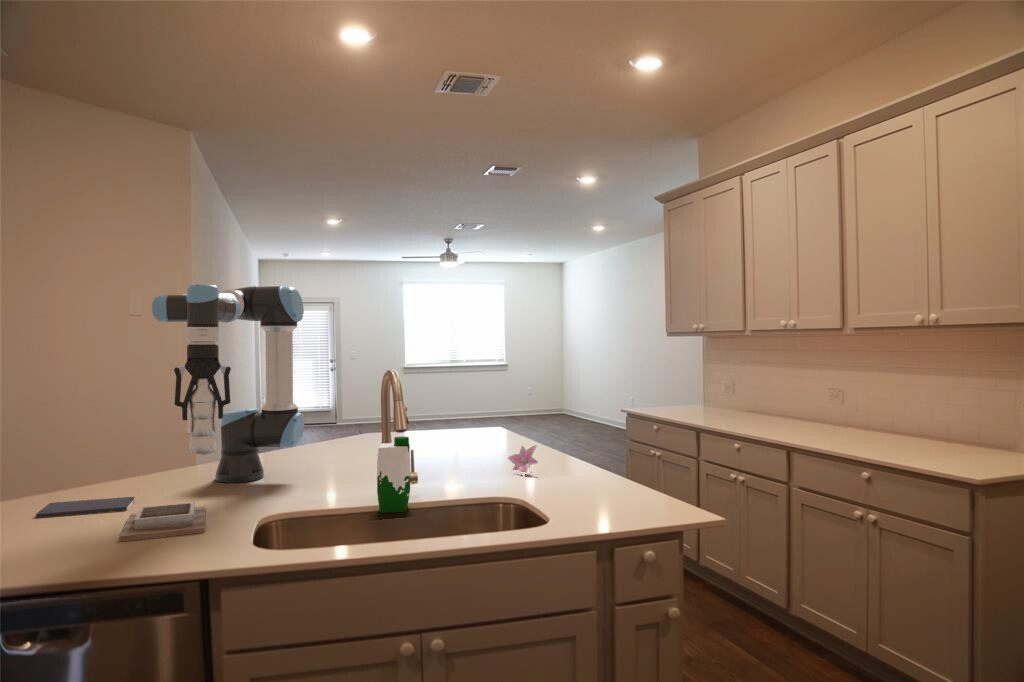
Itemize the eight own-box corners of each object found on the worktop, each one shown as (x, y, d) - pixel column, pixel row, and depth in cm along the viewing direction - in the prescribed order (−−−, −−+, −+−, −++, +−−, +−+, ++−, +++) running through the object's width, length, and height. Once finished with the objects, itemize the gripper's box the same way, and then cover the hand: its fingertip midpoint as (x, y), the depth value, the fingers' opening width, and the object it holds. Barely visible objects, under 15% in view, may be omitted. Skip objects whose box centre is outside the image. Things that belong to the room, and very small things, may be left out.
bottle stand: (130, 518, 177) (130, 504, 177) (205, 510, 184) (205, 497, 184) (119, 541, 157) (119, 526, 157) (204, 532, 164) (204, 517, 164)
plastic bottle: (207, 456, 171) (206, 378, 171) (183, 456, 172) (183, 378, 172) (222, 452, 177) (222, 377, 177) (199, 451, 179) (199, 377, 178)
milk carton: (409, 513, 182) (409, 440, 182) (375, 513, 181) (375, 440, 181) (411, 504, 191) (411, 435, 191) (379, 505, 190) (379, 435, 190)
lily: (507, 472, 240) (500, 451, 236) (535, 458, 243) (529, 437, 239) (520, 489, 230) (514, 468, 226) (550, 474, 233) (544, 452, 229)
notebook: (35, 519, 177) (127, 512, 184) (35, 514, 177) (127, 506, 184) (49, 508, 189) (135, 501, 196) (49, 502, 189) (135, 496, 196)
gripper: (161, 343, 167) (161, 436, 167) (242, 343, 175) (242, 431, 175) (162, 343, 174) (163, 432, 174) (240, 343, 182) (240, 428, 182)
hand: (202, 431), depth 175 cm, fingers closed on plastic bottle, 6 cm apart
